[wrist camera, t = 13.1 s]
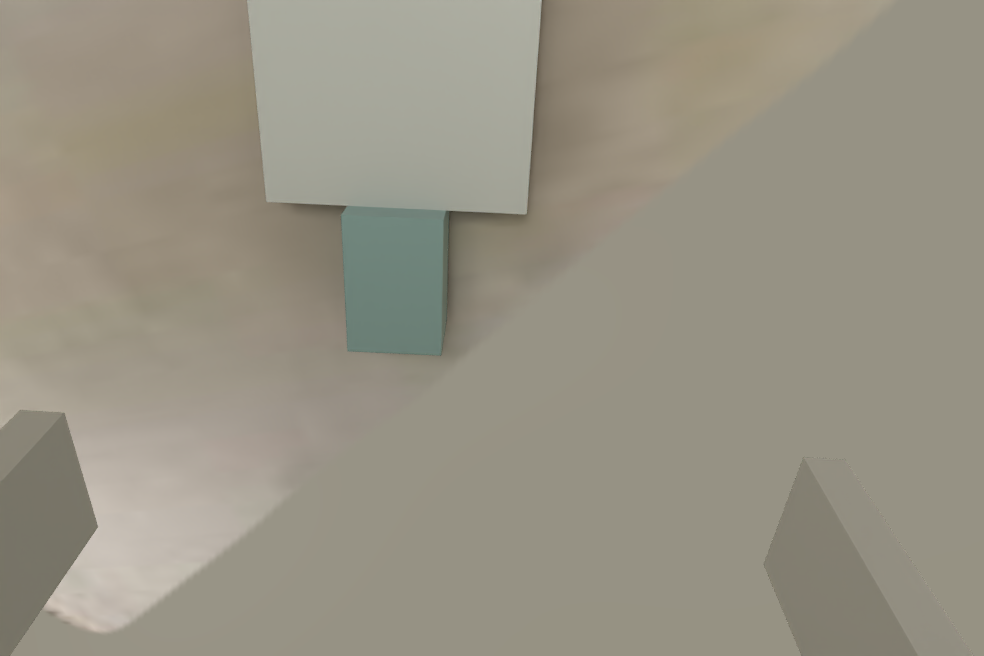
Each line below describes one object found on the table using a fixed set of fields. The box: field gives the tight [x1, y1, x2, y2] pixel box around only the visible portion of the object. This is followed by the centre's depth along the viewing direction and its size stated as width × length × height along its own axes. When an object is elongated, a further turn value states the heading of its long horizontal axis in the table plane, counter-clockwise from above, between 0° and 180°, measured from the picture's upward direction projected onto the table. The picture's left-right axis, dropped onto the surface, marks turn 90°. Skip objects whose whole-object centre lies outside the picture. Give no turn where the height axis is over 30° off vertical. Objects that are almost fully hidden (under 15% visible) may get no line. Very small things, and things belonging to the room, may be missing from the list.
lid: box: [247, 0, 542, 356], centre depth 27 cm, size 22×11×4 cm, turn 177°
